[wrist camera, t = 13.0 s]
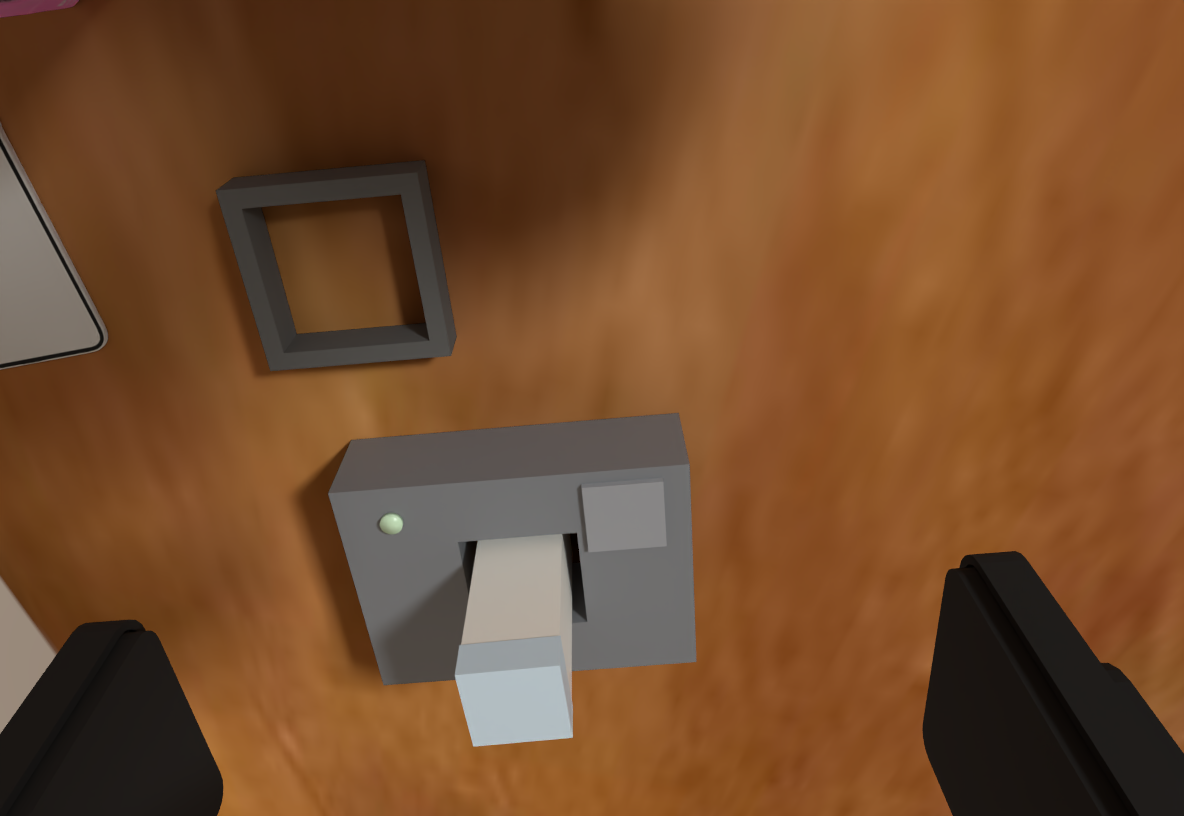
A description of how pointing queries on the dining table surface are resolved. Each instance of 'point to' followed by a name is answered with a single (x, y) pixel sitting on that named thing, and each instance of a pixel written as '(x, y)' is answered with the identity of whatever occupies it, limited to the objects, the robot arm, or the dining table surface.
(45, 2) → the gum box
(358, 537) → the port panel
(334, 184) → the dark square frame
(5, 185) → the smartphone
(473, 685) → the plug
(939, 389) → the dining table surface
